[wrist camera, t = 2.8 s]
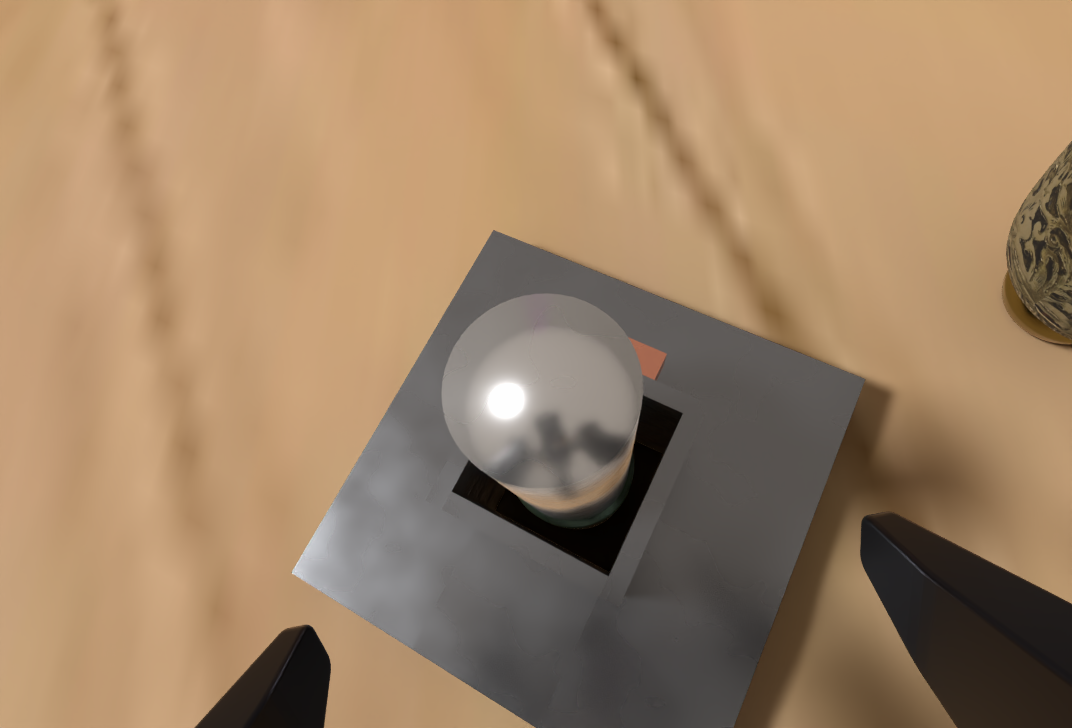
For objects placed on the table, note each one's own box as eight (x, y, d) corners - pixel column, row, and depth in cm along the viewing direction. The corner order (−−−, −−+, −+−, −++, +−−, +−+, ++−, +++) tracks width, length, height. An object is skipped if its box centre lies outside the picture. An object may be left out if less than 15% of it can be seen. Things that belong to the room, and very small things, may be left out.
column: (646, 458, 20) (689, 335, 9) (602, 552, 19) (592, 541, 8) (556, 415, 21) (497, 255, 10) (510, 504, 20) (392, 435, 9)
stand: (847, 391, 20) (938, 326, 15) (687, 806, 17) (726, 926, 12) (500, 249, 24) (466, 153, 18) (313, 571, 21) (201, 575, 15)
